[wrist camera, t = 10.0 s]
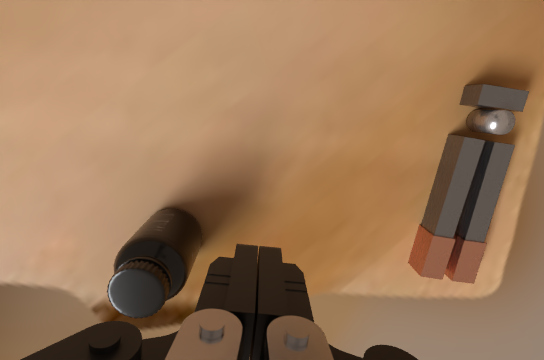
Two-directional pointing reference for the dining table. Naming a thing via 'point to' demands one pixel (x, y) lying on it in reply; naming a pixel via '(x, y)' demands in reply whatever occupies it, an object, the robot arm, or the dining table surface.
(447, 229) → the tong arm
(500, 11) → the dining table surface
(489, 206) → the tongs fixed
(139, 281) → the supplement bottle
